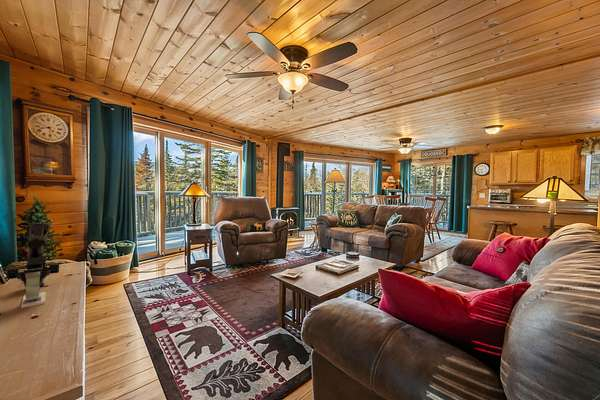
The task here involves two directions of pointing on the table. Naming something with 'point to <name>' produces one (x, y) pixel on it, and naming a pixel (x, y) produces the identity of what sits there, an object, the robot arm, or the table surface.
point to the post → (32, 285)
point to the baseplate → (34, 300)
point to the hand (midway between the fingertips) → (32, 285)
